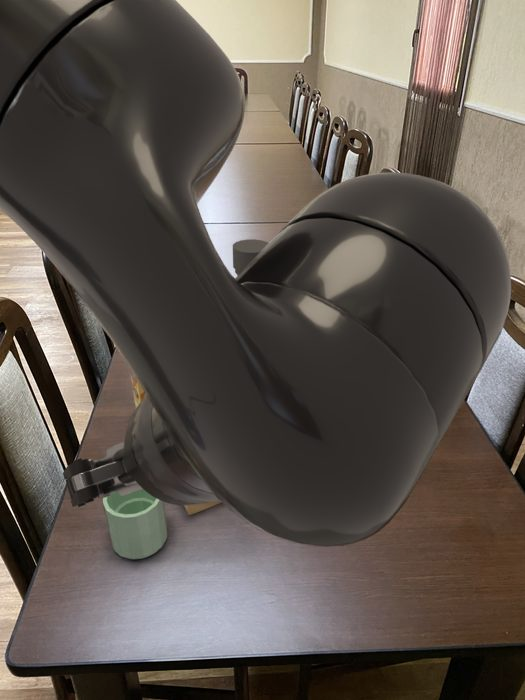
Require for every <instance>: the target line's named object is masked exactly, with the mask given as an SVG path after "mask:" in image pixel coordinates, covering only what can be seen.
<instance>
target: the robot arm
mask: <svg viewBox="0 0 525 700" xmlns="http://www.w3.org/2000/svg"><path fill="white" fill-rule="evenodd" d="M245 109H246V100H245V90H244V86H243V84H242V81H241V77H240V76H239V74H238V72H237V70H236V68H235V66H234V64H233V63H232V61H231V59H230V58H229V56H228V55H227V54H226V53H225V52H224V51H223V49H222V48H221V47H220V46H219V45H218V43H217V42H216V41H215V40H214V38H213V37H212V36H211V35H210V34H209V33H208V31H206V29H204V28H203V27H202V25H201V24H200V23H199V22H198V21H197V20H196V18H194V17H193V16H192V15H191V13H189V12H188V11H187V10H186V9H185V8H184V7H183V6H182V4H180V2H178V1H177V0H0V211H1V212H3V213H4V215H6V217H8V218H10V219H11V220H12V221H13V222H14V223H15V224H16V225H17V226H18V227H19V228H20V229H21V230H22V231H23V232H24V233H25V234H26V235H27V236H28V237H29V238H30V239H31V240H32V241H33V242H34V243H35V244H36V246H37V247H38V248H39V249H40V250H41V251H42V252H43V254H44V255H45V256H46V257H47V258H48V259H49V261H51V263H52V264H53V266H55V268H56V269H57V270H58V271H59V273H60V274H61V275H62V277H63V278H64V279H65V280H66V281H67V283H68V284H69V285H70V286H71V288H72V289H73V290H74V291H75V293H76V294H77V296H78V297H79V298H80V300H81V301H82V302H83V303H84V304H85V306H86V308H87V309H88V310H89V311H90V313H91V314H92V316H93V317H94V318H95V319H96V321H97V322H98V323H99V325H100V326H101V328H102V330H103V331H104V332H105V334H106V335H107V336H108V338H109V339H110V340H111V342H112V343H113V344H114V346H115V348H116V349H117V350H118V352H119V354H120V355H121V357H122V359H123V360H124V362H125V363H126V365H127V366H128V368H129V370H130V369H131V371H132V372H133V374H134V375H135V377H136V379H137V380H138V382H139V384H140V385H141V387H142V389H143V390H144V392H145V394H146V395H145V397H144V398H143V400H142V401H141V403H140V404H139V406H138V407H137V408H136V407H135V409H134V411H133V412H132V414H131V417H130V419H129V421H128V422H127V423H128V424H127V426H126V429H125V434H124V441H122V442H119V443H118V444H115V445H113V446H110V447H109V448H107V449H106V452H105V457H103V458H101V459H100V458H99V459H95V460H94V458H84V459H83V458H77V459H74V460H73V461H72V463H70V464H68V465H67V466H66V468H65V469H64V470H63V472H62V477H63V480H65V484H66V487H67V490H68V494H69V497H70V504H71V506H72V507H73V508H74V507H78V508H81V507H83V506H86V505H87V504H89V503H92V502H94V501H95V499H97V498H103V497H104V498H105V497H108V496H111V495H110V493H113V492H115V491H116V492H118V493H119V495H121V496H125V495H127V494H130V493H133V492H135V491H138V490H141V489H144V490H145V491H146V492H147V493H149V494H150V495H151V496H153V497H155V498H157V499H159V500H161V501H163V502H164V503H167V504H171V505H175V506H184V505H194V504H202V503H209V502H217V501H221V502H222V503H221V504H223V505H224V506H225V507H226V508H227V509H229V511H231V512H232V513H234V514H235V515H236V516H237V517H239V518H240V519H241V520H242V521H244V522H245V523H247V524H248V525H250V526H252V527H254V529H257V530H258V531H260V532H263V533H265V534H267V535H269V536H271V537H274V538H276V539H279V540H281V541H285V542H288V543H292V544H295V545H303V546H309V547H313V548H329V547H330V548H331V547H344V546H349V545H352V544H355V543H358V542H361V541H364V540H367V539H369V538H371V537H373V536H374V535H376V534H377V533H379V532H380V531H381V530H383V528H385V527H386V526H387V525H388V524H389V523H390V522H391V521H393V519H394V517H396V515H397V514H398V513H399V512H400V510H401V509H402V508H403V507H404V505H405V504H406V502H407V501H408V499H409V497H410V496H411V494H412V493H413V491H414V489H415V488H416V486H417V484H418V483H419V481H420V479H421V477H422V476H423V473H424V472H425V470H426V468H427V467H428V465H429V463H430V461H431V459H432V457H433V456H434V454H435V452H436V450H437V448H438V446H439V445H440V443H441V441H442V439H443V438H444V435H445V434H446V432H447V431H448V429H449V427H450V425H451V423H452V422H453V420H454V418H455V417H456V415H457V413H458V411H459V409H460V408H461V406H462V404H463V403H464V401H465V399H466V397H467V396H468V394H469V392H470V390H471V388H472V387H473V385H474V383H475V382H476V380H477V378H478V376H479V374H480V373H481V371H482V369H483V367H484V365H485V363H487V360H488V358H489V356H490V354H491V353H492V351H493V349H494V348H495V345H496V344H497V342H498V340H499V338H500V336H501V334H502V332H503V330H504V329H503V328H504V325H505V323H506V320H507V315H508V312H509V309H510V303H511V298H512V297H511V296H512V272H511V265H510V264H511V263H510V259H509V255H508V252H507V249H506V246H505V243H504V240H503V238H502V236H501V235H500V233H499V231H498V229H497V227H496V226H495V225H494V223H493V222H492V221H491V218H489V216H488V215H487V214H486V213H485V212H484V210H483V209H482V208H481V207H480V206H479V205H478V204H477V203H476V202H474V201H473V200H472V199H471V198H470V197H468V195H466V194H464V193H463V192H461V191H459V189H457V188H454V187H453V186H451V185H449V184H447V183H445V182H443V181H440V180H437V179H434V178H432V177H428V176H424V175H420V174H415V173H409V172H394V171H393V172H375V173H369V174H363V175H359V176H355V177H352V178H349V179H346V180H343V181H341V182H339V183H336V184H334V185H332V186H330V187H329V188H327V189H325V190H323V191H322V192H321V193H319V194H318V195H316V196H315V197H314V198H312V199H311V200H310V201H309V202H308V203H307V204H305V205H304V206H303V207H301V209H300V210H299V211H298V212H297V213H296V214H295V215H294V216H293V217H292V218H291V219H290V220H289V221H288V222H287V224H285V225H284V226H283V228H281V230H280V231H279V232H278V233H277V234H276V235H275V236H274V237H273V238H272V239H271V240H270V241H269V242H268V243H269V244H268V245H267V246H266V247H265V248H264V249H263V250H262V251H261V252H260V253H259V254H258V255H257V256H256V257H255V258H254V259H253V260H252V261H251V262H250V263H249V265H248V266H247V267H246V268H245V269H244V270H243V271H242V272H241V273H240V274H239V275H238V276H236V277H234V276H233V275H232V273H231V272H230V270H229V269H228V267H227V266H226V265H225V263H224V261H223V260H222V258H221V256H220V254H219V253H218V251H217V249H216V246H215V245H214V243H213V241H212V239H211V236H210V233H209V231H208V229H207V226H206V225H205V222H204V220H203V217H202V215H201V212H200V209H199V206H198V204H199V203H200V201H201V200H202V198H203V197H204V195H205V194H206V193H207V191H208V190H209V188H210V187H211V186H212V184H213V183H214V181H215V180H216V178H217V177H218V175H219V174H220V173H221V171H222V169H223V167H224V166H225V163H226V162H227V160H228V159H229V158H230V155H231V153H232V151H233V150H234V147H235V146H236V143H237V141H238V139H239V136H240V133H241V130H242V127H243V122H244V118H245V112H246V111H245Z"/></svg>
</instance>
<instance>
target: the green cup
mask: <svg viewBox="0 0 525 700" xmlns="http://www.w3.org/2000/svg"><path fill="white" fill-rule="evenodd" d="M110 495H111V496H108V497H105V498H104V497H103V496H102V505H103V510H104V516H105V520H106V524H107V528H108V534H109V538H110V543H111V546H112V548H113V550H114V552H115V553H116V554H118V555H119V556H120V557H121V558H126V559H129V560H141V559H145V558H149V557H150V556H153V555H154V554H156V553H157V552H158V551H159V550H160V549H162V548H163V546H164V544H165V542H166V540H167V538H168V523H167V522H168V521H167V516H166V508H165V507H166V506H165V502H163V501H161V500H159V499H157V498H155V497H153V496H151V495H150V494H149V493H147V492H146V491H145V490H144V489H141V490H138V491H135V492H133V493H130V494H127V495H125V496H121V495H119V493H118V492H116V491H115V492H113V493H110Z"/></svg>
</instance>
